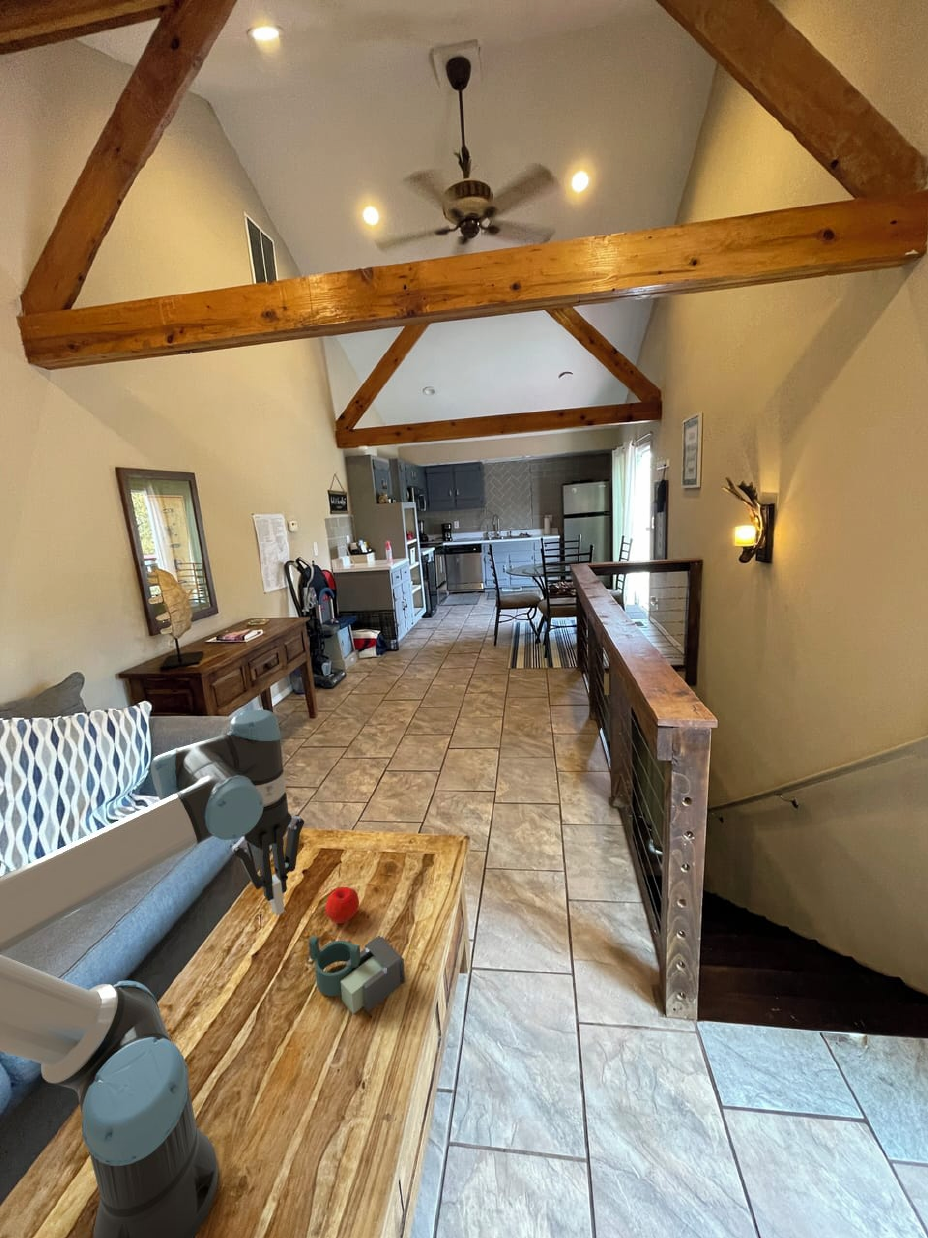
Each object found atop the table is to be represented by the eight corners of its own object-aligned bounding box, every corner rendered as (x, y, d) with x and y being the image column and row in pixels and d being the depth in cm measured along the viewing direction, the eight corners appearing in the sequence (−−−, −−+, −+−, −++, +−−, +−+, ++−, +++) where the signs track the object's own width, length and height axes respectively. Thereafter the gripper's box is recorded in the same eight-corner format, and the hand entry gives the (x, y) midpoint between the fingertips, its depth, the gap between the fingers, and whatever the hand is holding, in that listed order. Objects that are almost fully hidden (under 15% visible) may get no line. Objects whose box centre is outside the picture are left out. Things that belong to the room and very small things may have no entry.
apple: (344, 937, 117) (341, 910, 115) (319, 924, 121) (316, 897, 119) (366, 913, 124) (364, 887, 122) (342, 901, 128) (340, 876, 126)
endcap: (367, 1012, 99) (365, 985, 98) (346, 986, 105) (344, 959, 104) (405, 982, 106) (403, 956, 104) (383, 958, 111) (381, 933, 110)
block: (353, 1014, 99) (351, 994, 98) (342, 1001, 102) (340, 981, 101) (393, 980, 106) (392, 961, 105) (382, 969, 109) (381, 949, 108)
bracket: (364, 984, 105) (361, 948, 103) (319, 1004, 101) (315, 967, 99) (352, 951, 113) (349, 917, 111) (310, 968, 108) (306, 933, 106)
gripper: (233, 821, 82) (250, 942, 87) (308, 790, 91) (319, 902, 96) (218, 803, 88) (234, 918, 93) (290, 775, 96) (301, 881, 101)
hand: (277, 909), depth 94 cm, fingers closed
